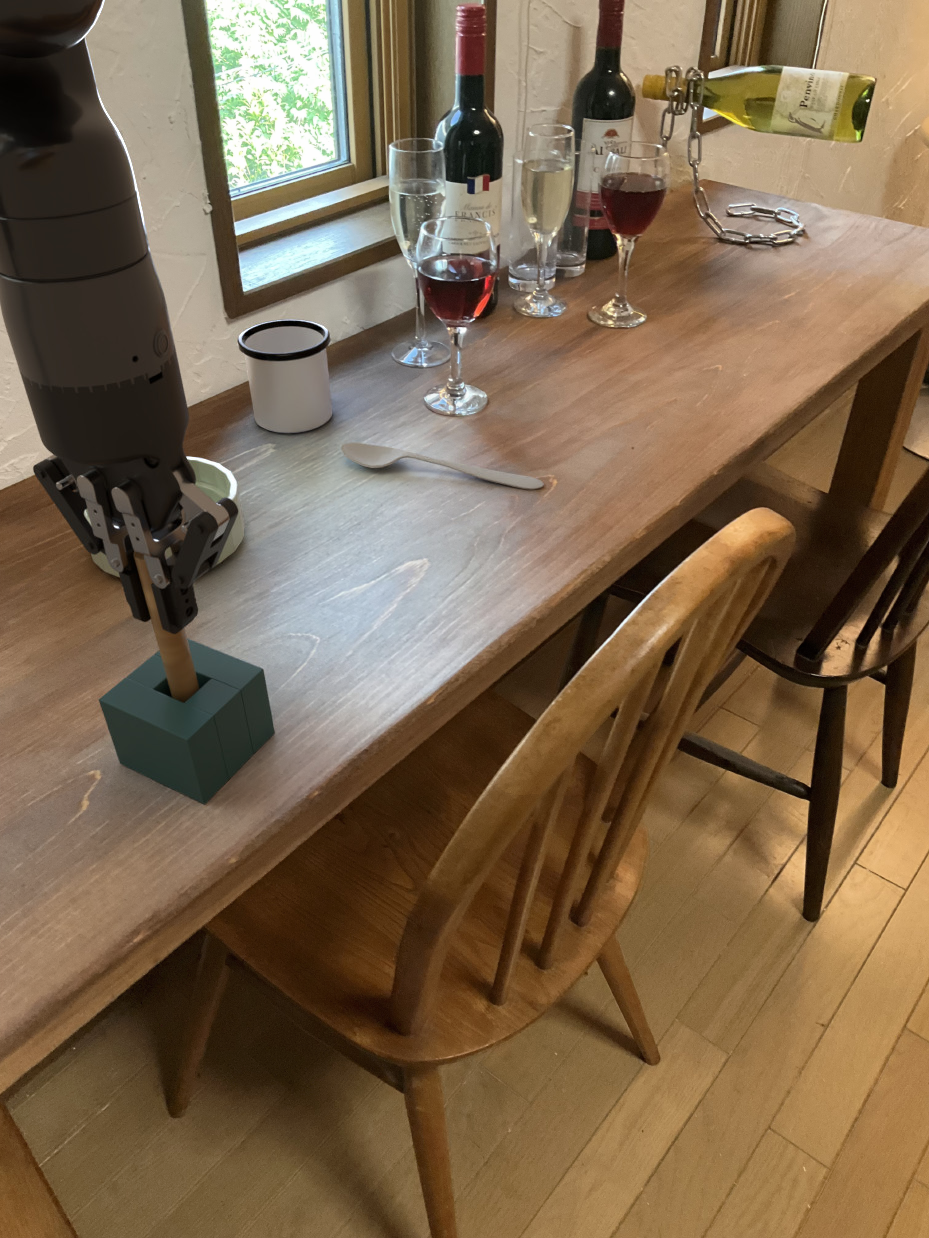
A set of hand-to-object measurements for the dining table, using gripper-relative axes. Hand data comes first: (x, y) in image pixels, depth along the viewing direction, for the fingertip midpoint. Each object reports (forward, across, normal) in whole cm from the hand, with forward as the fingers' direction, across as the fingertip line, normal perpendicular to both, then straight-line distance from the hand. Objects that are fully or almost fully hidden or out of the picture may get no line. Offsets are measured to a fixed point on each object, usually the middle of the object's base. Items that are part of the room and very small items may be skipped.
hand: (166, 618), depth 59 cm
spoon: (+12, -4, +40) cm, 42 cm away
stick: (+11, 0, 0) cm, 11 cm away
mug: (+12, -24, +44) cm, 52 cm away
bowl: (+11, -19, +18) cm, 29 cm away
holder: (+11, 0, 0) cm, 11 cm away
